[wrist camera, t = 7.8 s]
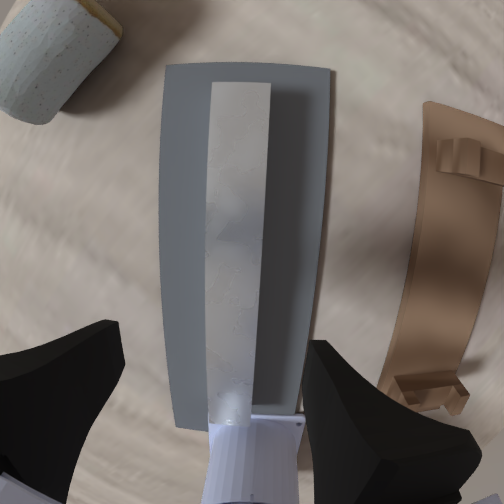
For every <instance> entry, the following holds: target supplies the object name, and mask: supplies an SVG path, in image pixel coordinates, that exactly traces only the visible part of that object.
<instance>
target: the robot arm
mask: <svg viewBox="0 0 504 504" xmlns="http://www.w3.org/2000/svg"><path fill="white" fill-rule="evenodd" d="M124 367H125V359H124V354H123V348H122V342H121V336H120V330H119V323H118V321H112V320H106V319H105V320H101V321H98V322H96V323H93V324H91V325H88V326H86V327H84V328H82V329H79V330H77V331H75V332H73V333H70V334H68V335H66V336H63V337H61V338H58V339H56V340H53V341H51V342H48V343H46V344H43V345H40V346H37V347H34V348H31V349H27V350H24V351H20V352H16V353H10V354H5V355H0V504H66V501H67V496H68V491H69V487H70V483H71V480H72V476H73V473H74V469H75V466H76V463H77V460H78V458H79V455H80V452H81V449H82V447H83V444H84V442H85V440H86V437H87V435H88V432H89V430H90V428H91V427H92V425H93V423H94V421H95V419H96V418H97V416H98V415H99V413H100V411H101V410H102V408H103V406H104V405H105V403H106V402H107V400H108V398H109V397H110V395H111V393H112V392H113V390H114V389H115V387H116V385H117V383H118V381H119V379H120V376H121V374H122V372H123V369H124ZM302 394H303V408H304V413H305V415H304V414H295V415H279V414H258V413H251V420H250V427H242V426H230V425H220V424H211V423H209V416H208V426H209V443H210V460H209V465H208V470H207V475H206V481H205V486H204V491H203V496H202V501H201V504H299V487H298V471H297V453H298V450H299V446H300V442H301V438H302V434H303V430H304V426H305V422H306V424H307V430H308V435H309V440H310V446H311V451H312V459H313V472H314V504H457V503H459V502H460V501H461V499H462V497H461V495H460V492H459V489H460V488H461V487H462V486H463V484H464V483H465V482H466V481H467V480H468V479H469V477H470V476H471V475H472V474H473V473H474V471H475V470H476V468H477V467H478V465H479V463H480V461H481V458H482V451H481V449H480V448H479V446H478V444H477V442H476V441H475V439H474V437H473V436H472V434H471V433H470V431H469V430H466V429H462V428H458V427H455V426H451V425H447V424H444V423H441V422H438V421H436V420H433V419H431V418H428V417H425V416H423V415H421V414H419V413H417V412H415V411H413V410H411V409H409V408H407V407H405V406H403V405H401V404H400V403H398V402H396V401H395V400H393V399H391V398H390V397H388V396H387V395H385V394H384V393H383V392H381V391H380V390H378V389H377V388H376V387H374V386H373V385H372V384H371V383H369V382H368V381H367V380H366V379H365V378H363V377H362V376H361V375H360V374H359V373H358V372H357V371H356V370H355V369H354V368H352V367H351V366H350V365H349V364H348V363H347V362H346V361H345V360H344V358H343V357H342V356H341V355H340V354H339V353H338V352H337V351H336V350H335V349H334V348H333V347H332V346H331V345H330V344H329V343H328V342H327V341H326V340H309V347H308V353H307V358H306V364H305V370H304V375H303V381H302ZM299 422H300V423H299ZM472 504H502V502H501V500H500V498H499V496H498V494H496V493H495V494H493V495H490V496H488V497H486V498H484V499H481V500H479V501H477V502H474V503H472Z"/></svg>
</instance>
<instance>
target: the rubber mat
mask: <svg viewBox="0 0 504 504" xmlns="http://www.w3.org/2000/svg"><path fill="white" fill-rule="evenodd" d="M212 82H257V83H271V94H270V115H269V134H268V154H267V172H266V190H265V208H264V225H263V242H262V259H261V275H260V291H259V306H258V322H257V337H256V351H255V366H254V380H253V394H252V408H251V413H258V414H279V415H295V409H296V404H297V399H298V394H299V388H300V383H301V377H302V371H303V365H304V360H305V353H306V347H307V341H308V334H309V328H310V321H311V314H312V307H313V299H314V292H315V284H316V276H317V267H318V258H319V249H320V240H321V230H322V219H323V208H324V196H325V183H326V169H327V152H328V133H329V107H330V69H327V68H319V67H310V66H301V65H289V64H274V63H250V62H214V63H189V64H175V65H166V71H165V81H164V92H163V105H162V119H161V136H160V159H159V257H160V280H161V298H162V313H163V325H164V337H165V347H166V357H167V366H168V375H169V383H170V391H171V398H172V405H173V412H174V419H175V425H176V427H179V428H185V429H192V430H199V431H207V432H209V426H208V395H207V369H206V330H205V229H206V189H207V162H208V141H209V122H210V106H211V91H212Z"/></svg>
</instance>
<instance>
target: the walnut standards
mask: <svg viewBox="0 0 504 504" xmlns="http://www.w3.org/2000/svg"><path fill="white" fill-rule="evenodd" d="M502 186H504V126H502V125H499V124H497V123H494V122H492V121H489V120H487V119H484V118H481V117H479V116H476V115H473V114H470V113H467V112H464V111H461V110H458V109H455V108H452V107H449V106H445V105H442V104H439V103H435V102H432V101H428V102H425V103H423V140H422V161H421V175H420V187H419V197H418V206H417V215H416V222H415V229H414V236H413V243H412V249H411V255H410V260H409V266H408V271H407V276H406V281H405V286H404V291H403V295H402V300H401V304H400V308H399V312H398V316H397V320H396V324H395V328H394V332H393V336H392V339H391V343H390V346H389V350H388V353H387V357H386V360H385V363H384V366H383V369H382V373H381V376H380V379H379V382H378V385H377V389H378V390H380V391H381V392H383V393H384V394H385V395H387V396H388V397H390V398H391V399H393V400H395V401H396V402H398V403H400V404H401V405H403V406H405V407H407V408H409V409H411V410H413V411H415V412H422V411H428V410H434V409H439V408H440V406H441V405H443V404H444V406H445V407H446V409H447V410H448V412H449V414H450V415H451V416H453V415H458V414H461V412H462V410H463V408H464V406H465V404H466V402H467V400H468V399H469V397H470V394H469V393H468V391H467V390H466V388H465V387H464V386H463V384H462V383H461V382H460V380H459V379H458V378H457V376H456V375H455V373H456V371H457V368H458V366H459V364H460V361H461V359H462V356H463V354H464V351H465V348H466V346H467V343H468V340H469V337H470V334H471V332H472V329H473V326H474V323H475V320H476V316H477V313H478V310H479V307H480V303H481V300H482V296H483V293H484V289H485V285H486V281H487V277H488V273H489V269H490V264H491V259H492V255H493V250H494V244H495V239H496V233H497V227H498V220H499V213H500V205H501V196H502Z"/></svg>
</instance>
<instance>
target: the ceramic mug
mask: <svg viewBox="0 0 504 504" xmlns="http://www.w3.org/2000/svg"><path fill="white" fill-rule="evenodd" d="M122 34H123V27H122V26H121V25H120V24H119V23H118V22H117V21H116V20H115V19H114V18H113V17H112V16H111V15H110V14H109V13H108V12H107V11H106V10H105V9H104V8H103V7H102V6H100V5H99V4H98V3H97V2H96V1H95V0H31V1H30V2H29V3H28V4H27V5H26V6H25V7H24V8H23V9H22V10H21V12H20V13H19V14H18V15H17V16H16V17H15V18H14V19H13V21H12V22H11V23H10V24H9V25H8V26H7V27H6V29H5V30H4V31H3V32H2V33H1V34H0V110H1V111H3V112H5V113H6V114H8V115H9V116H11V117H13V118H15V119H18V120H21V121H23V122H27V123H31V124H35V125H43V124H46V123H48V122H50V121H51V120H52V119H53V118H54V117H55V115H56V114H57V112H58V111H59V109H60V108H61V107H62V106H63V105H64V103H65V102H66V101H67V100H68V99H69V97H70V96H71V95H72V94H73V93H74V91H75V90H76V89H77V88H78V87H79V85H80V84H81V83H82V82H83V81H84V79H85V78H86V77H87V76H88V75H89V74H90V73H91V71H92V70H93V69H94V68H95V67H96V66H97V65H98V64H99V63H100V62H101V61H102V60H103V59H104V58H105V57H106V56H107V55H108V54H109V53H110V52H111V50H112V49H113V48H114V47H115V45H116V44H117V43H118V42H119V40H120V39H121V37H122Z"/></svg>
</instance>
